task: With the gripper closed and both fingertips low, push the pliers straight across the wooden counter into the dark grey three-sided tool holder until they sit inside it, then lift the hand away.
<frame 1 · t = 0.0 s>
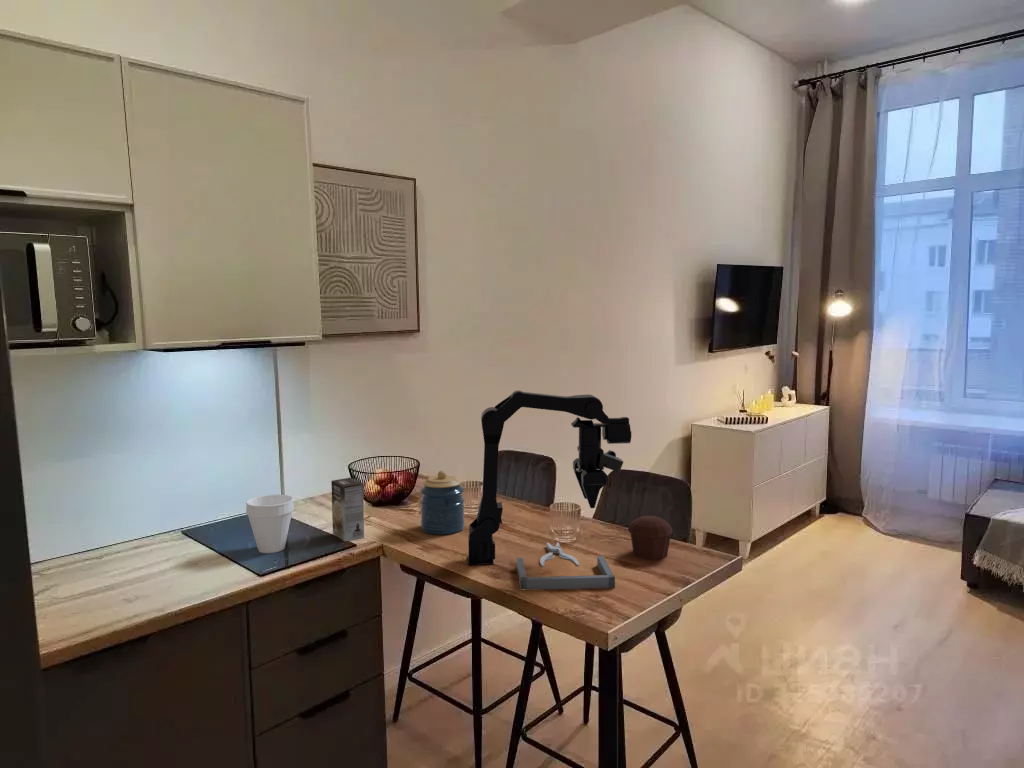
hand: (589, 503, 178), 15 cm above the countertop, tool pointing down, fingers open, 9 cm apart
tool holder: (563, 576, 167), on the countertop
canister: (442, 529, 205), on the countertop
coffee box: (348, 536, 199), on the countertop
white flower pot: (271, 549, 188), on the countertop
pliers: (556, 558, 181), on the countertop
muffin: (649, 554, 182), on the countertop
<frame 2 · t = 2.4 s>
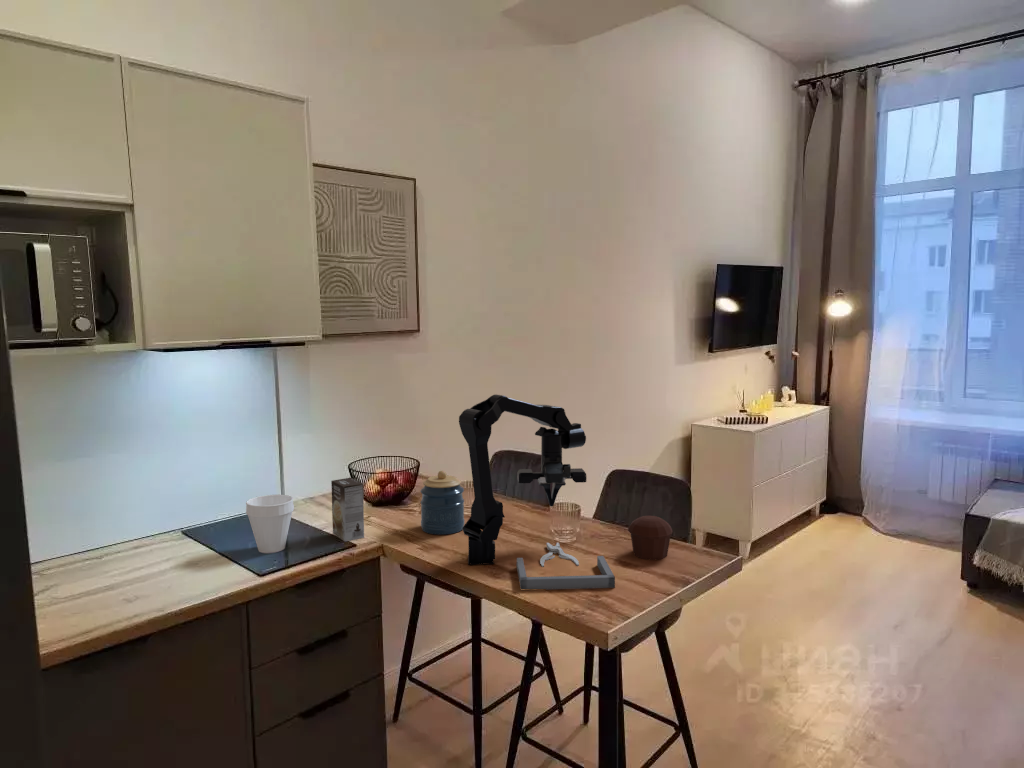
hand: (551, 506, 191), 10 cm above the countertop, tool pointing down, fingers closed
nothing on the countertop moved.
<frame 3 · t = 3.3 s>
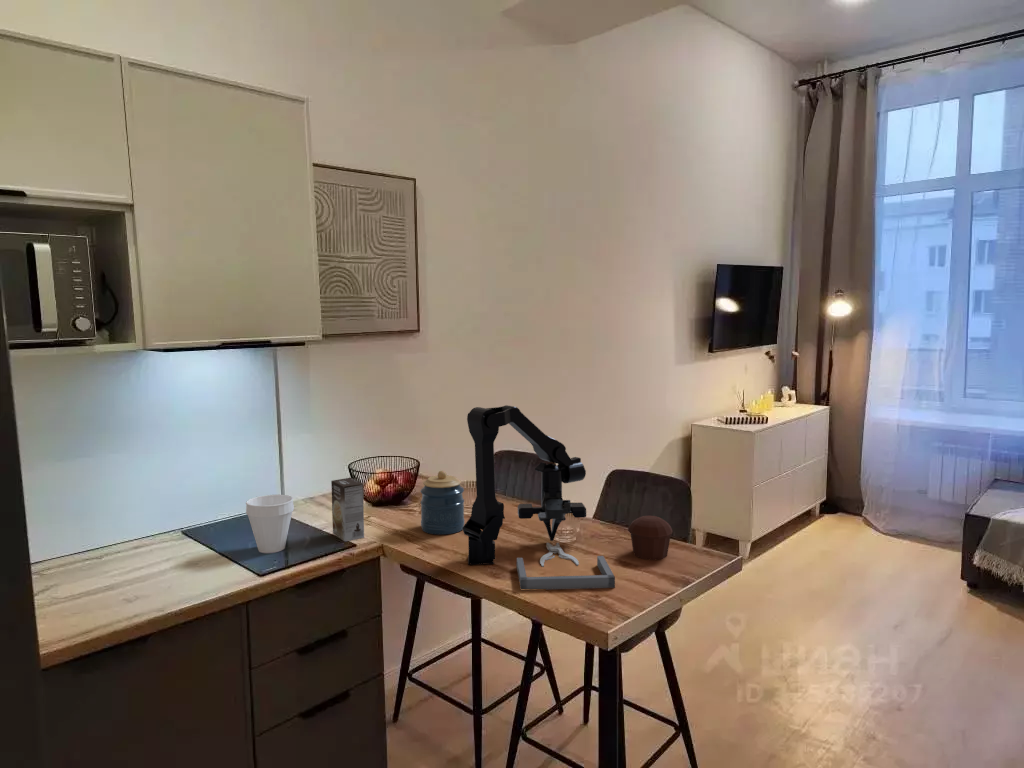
hand: (551, 540, 192), 1 cm above the countertop, tool pointing down, fingers closed
nothing on the countertop moved.
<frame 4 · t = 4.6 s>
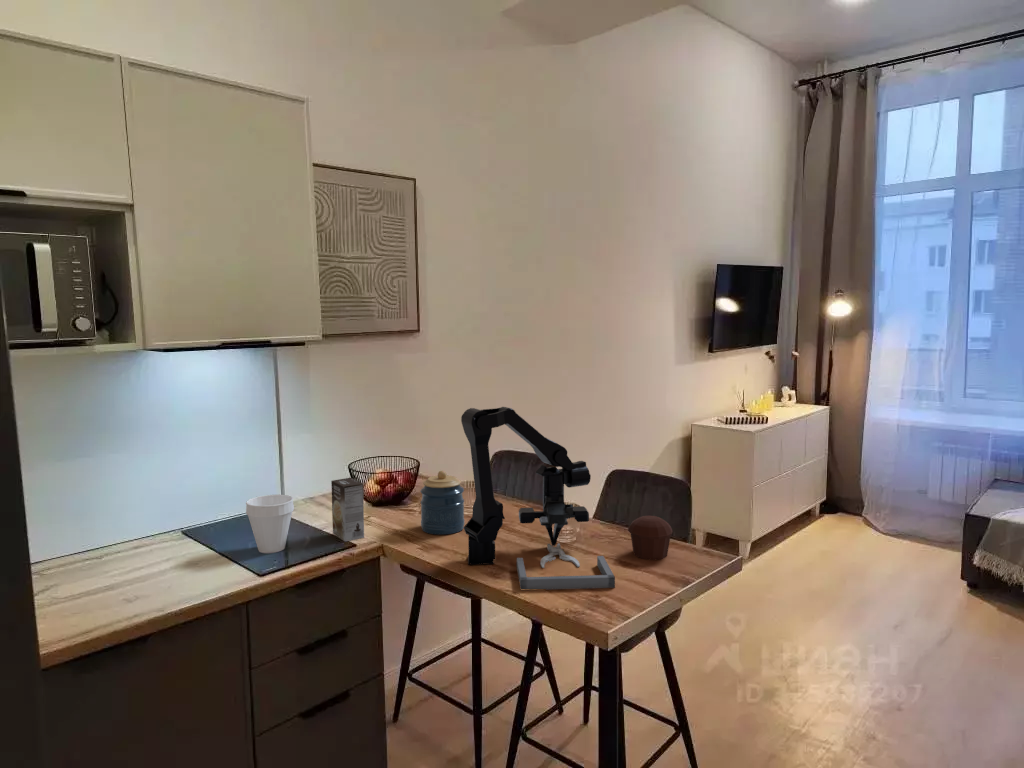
hand: (553, 545, 188), 1 cm above the countertop, tool pointing down, fingers closed
pliers: (557, 559, 180), on the countertop
everything else where it was.
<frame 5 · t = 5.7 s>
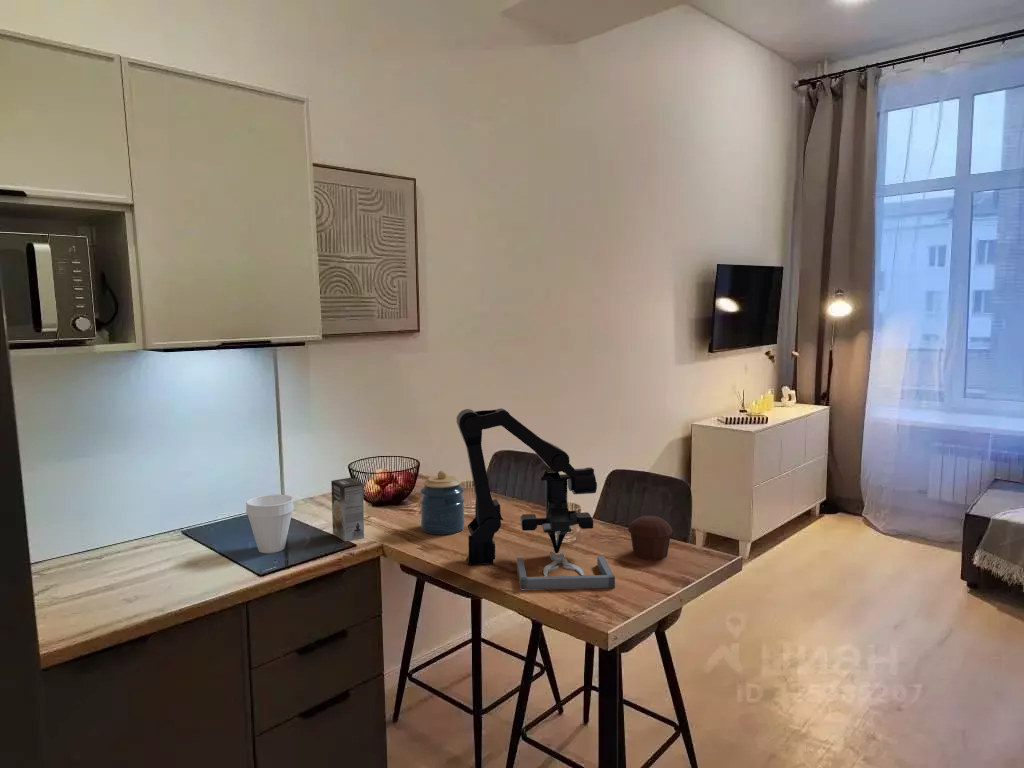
hand: (556, 552, 182), 1 cm above the countertop, tool pointing down, fingers closed, pressing on pliers
pliers: (560, 568, 174), on the countertop, touching gripper
everything else where it was.
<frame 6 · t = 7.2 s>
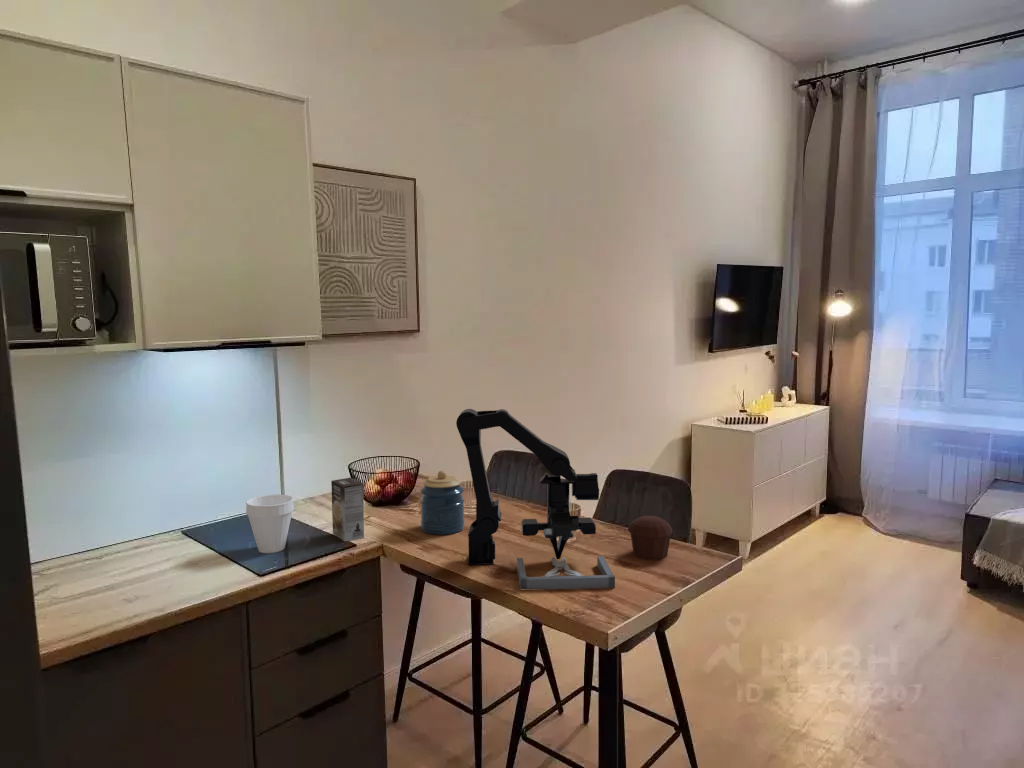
hand: (558, 558, 178), 1 cm above the countertop, tool pointing down, fingers closed
pliers: (561, 574, 169), on the countertop, touching gripper
everything else where it was.
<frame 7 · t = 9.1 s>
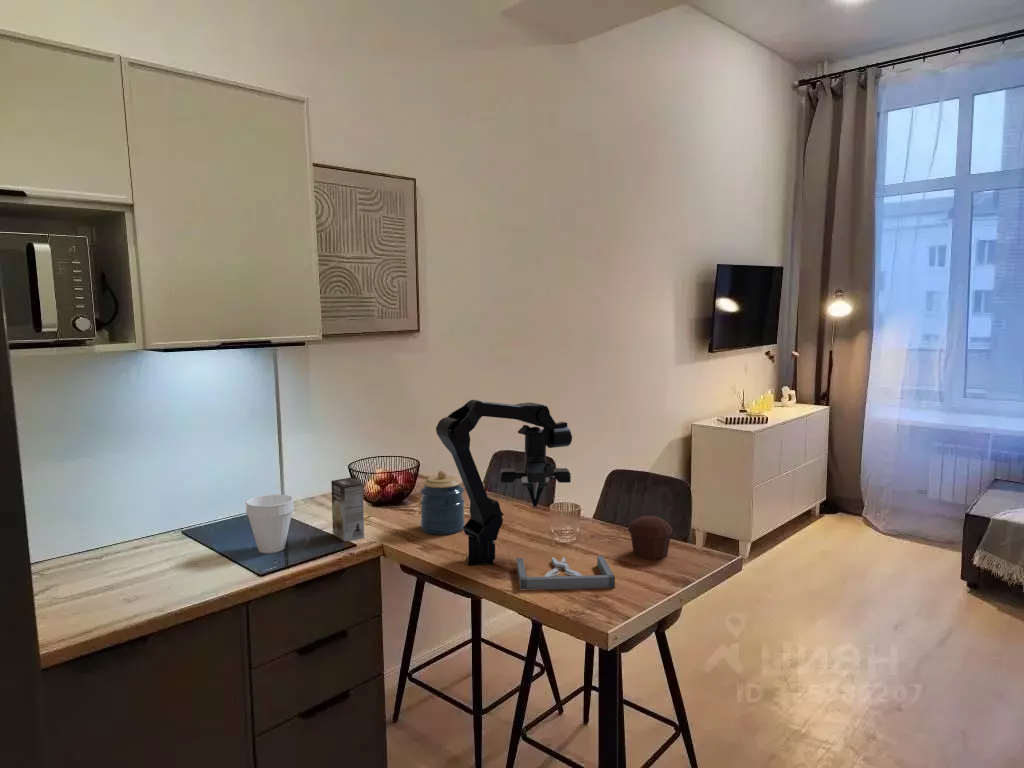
hand: (534, 506, 186), 12 cm above the countertop, tool pointing down, fingers closed
pliers: (561, 574, 169), on the countertop
everything else where it was.
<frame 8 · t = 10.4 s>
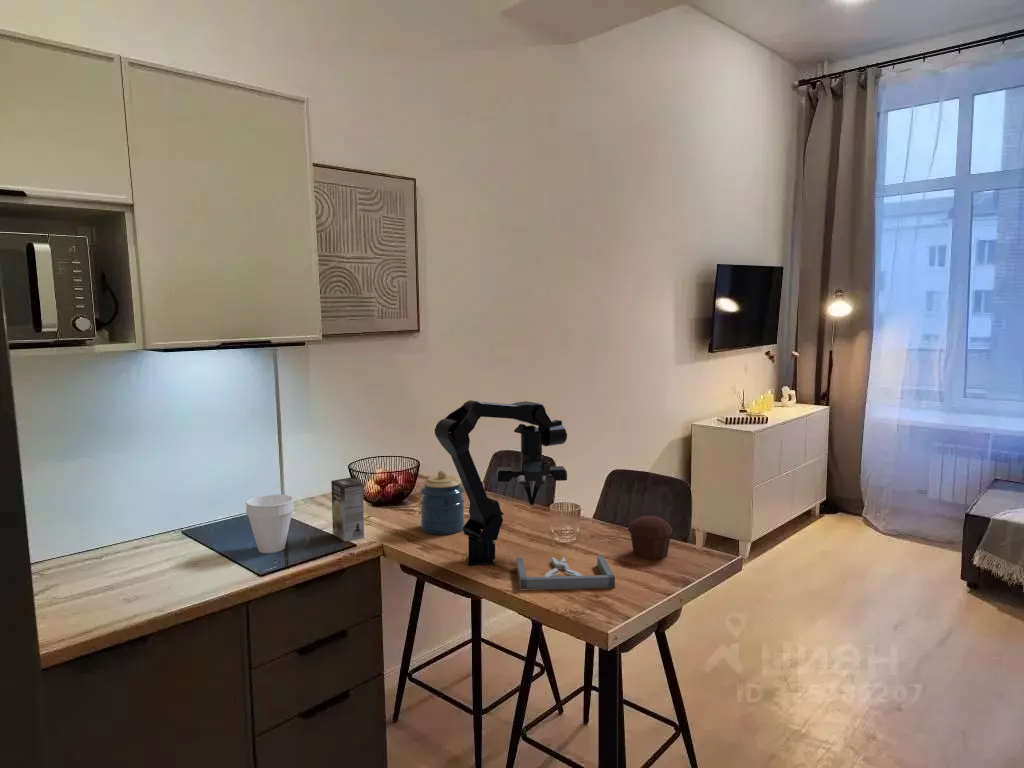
hand: (531, 504, 186), 12 cm above the countertop, tool pointing down, fingers closed
nothing on the countertop moved.
at the end: pliers inside the target area on the tool holder (3.1 cm from its centre), point -0.6 cm above the tool holder's base; pliers moved 11.6 cm from its start; pliers tilted 1° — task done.
